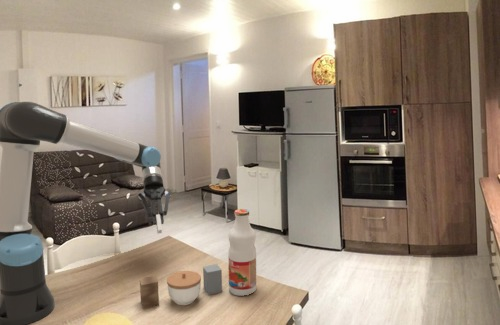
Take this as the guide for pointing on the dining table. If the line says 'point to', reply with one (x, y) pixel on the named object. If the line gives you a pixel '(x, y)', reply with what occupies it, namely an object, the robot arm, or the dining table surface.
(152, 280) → the walnut block
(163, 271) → the dining table surface
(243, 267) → the fruit juice
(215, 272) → the grey block
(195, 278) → the lidded jar
